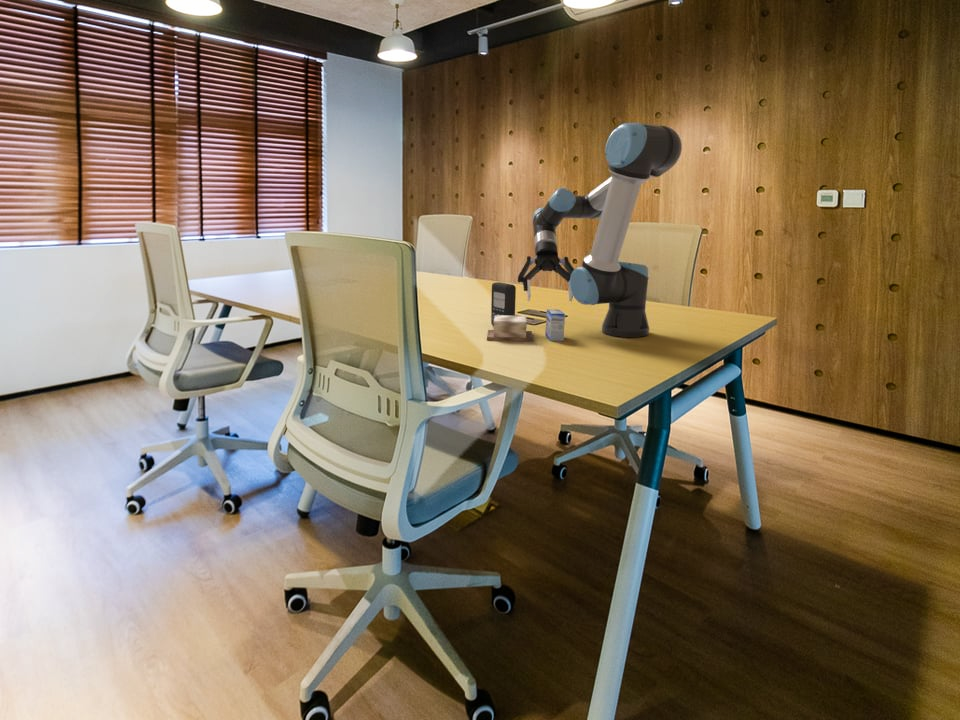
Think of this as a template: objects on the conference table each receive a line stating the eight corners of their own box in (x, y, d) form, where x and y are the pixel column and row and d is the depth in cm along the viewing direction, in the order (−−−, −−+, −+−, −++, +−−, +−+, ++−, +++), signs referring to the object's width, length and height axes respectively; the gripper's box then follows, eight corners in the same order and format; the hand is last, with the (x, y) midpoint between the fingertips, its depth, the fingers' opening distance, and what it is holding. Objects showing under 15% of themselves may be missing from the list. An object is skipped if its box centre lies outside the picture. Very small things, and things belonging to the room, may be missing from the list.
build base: (531, 334, 196) (532, 315, 194) (532, 341, 185) (533, 322, 184) (488, 332, 196) (488, 314, 195) (486, 340, 186) (487, 321, 184)
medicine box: (544, 335, 194) (546, 309, 191) (558, 335, 194) (560, 309, 192) (549, 341, 186) (550, 313, 184) (563, 341, 186) (565, 313, 184)
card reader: (489, 326, 207) (490, 282, 203) (498, 324, 210) (499, 281, 206) (506, 330, 200) (507, 285, 196) (515, 329, 202) (516, 284, 199)
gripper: (580, 255, 208) (586, 305, 198) (508, 254, 208) (510, 305, 197) (584, 240, 202) (591, 292, 191) (510, 239, 201) (512, 291, 190)
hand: (550, 298), depth 194 cm, fingers open, 13 cm apart
